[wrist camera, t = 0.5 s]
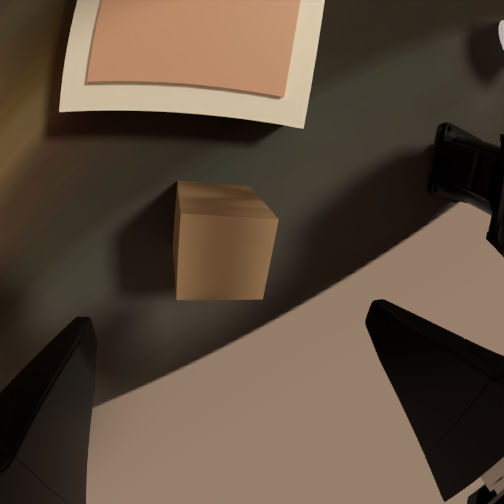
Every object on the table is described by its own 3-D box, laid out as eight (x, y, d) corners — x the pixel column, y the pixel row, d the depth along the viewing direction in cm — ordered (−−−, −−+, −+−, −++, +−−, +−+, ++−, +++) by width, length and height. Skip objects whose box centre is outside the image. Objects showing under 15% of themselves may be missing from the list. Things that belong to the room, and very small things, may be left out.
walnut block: (248, 185, 20) (278, 219, 15) (238, 248, 22) (262, 299, 16) (177, 180, 18) (180, 214, 13) (173, 247, 20) (176, 299, 15)
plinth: (313, -45, 13) (334, -61, 10) (285, 124, 18) (305, 129, 16) (116, -70, 9) (109, -92, 6) (74, 110, 15) (57, 112, 12)
